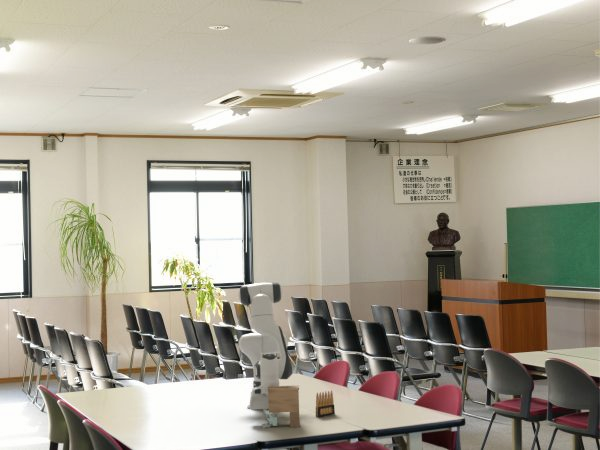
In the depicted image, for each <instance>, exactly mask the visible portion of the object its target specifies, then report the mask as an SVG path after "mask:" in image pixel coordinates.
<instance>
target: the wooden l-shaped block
mask: <svg viewBox="0 0 600 450" xmlns="http://www.w3.org/2000/svg"><path fill="white" fill-rule="evenodd" d="M299 390H300V385H279V386H270V387H268V398H269V409H268V411H269V413H273V414H275V413H277V412H278V413H289V428H300V427H301V423H300V422H301V420H300V398H299V397H300V395H299V394H300V392H299ZM278 413H277V414H278Z"/></svg>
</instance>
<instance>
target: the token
mask: <svg viewBox="0 0 600 450" xmlns="http://www.w3.org/2000/svg"><path fill="white" fill-rule="evenodd" d="M260 426H261V428H262V427H265V428H264V429H269V428H268V427H271V428H273V425H272V424H271V423H270V422H268V423H261V425H260Z"/></svg>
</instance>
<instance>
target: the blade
mask: <svg viewBox="0 0 600 450" xmlns="http://www.w3.org/2000/svg"><path fill="white" fill-rule="evenodd" d="M266 413H267V414H269V418H267V419H266V420H267V422H268V423H270V424H272V427H277V426H278V416H277V417H276V416H275V415H274V414H275V413H269V410H266Z"/></svg>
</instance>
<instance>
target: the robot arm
mask: <svg viewBox="0 0 600 450" xmlns="http://www.w3.org/2000/svg"><path fill="white" fill-rule="evenodd" d="M282 297H283V288H282V287H281V284H280V283H279V282H274V281H273V282H258V283H251V284H244V285H242V286H240V288H239V291H238V300H239V302H240V304H242V305H243V306H246V307H249V306H250V308H249V309H250V320H251V327H252V329H253V330H254V331H255V332H250V333H245V334H242V335H241V336H240V337H239V340H238V348H239V350H240V351H241V353H243V354H244V355H245V356H247V358H248V360H249V361H250V362H251V365H252V369H253V383H252V387H253V388H252V389H251V391H250V398H249V404H248V405H247V409H250V410H252V411H253V410H263V411H262V412H263V413H264V415H265V420H267V418H269V414H267V413H266V411H267V410H269V398H268V387H270V386H280V380H288V379H289V378H290V377H291V376H293V372H294V371H293V365H292V362H291V358H290V356H289V355H290V354H289V351H288V345H289V340H288V338H287V336H286V334H285V333H283V330H282V327H281V325H278V324H277V323H276V321H275V318H274V309H273V304H276V303H280V302H281V301H282ZM275 354H279V358H278V357H277V355H275ZM278 413H279V412H277V413H273V414H274V415H275V416H276V417H277V418H278Z"/></svg>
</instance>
